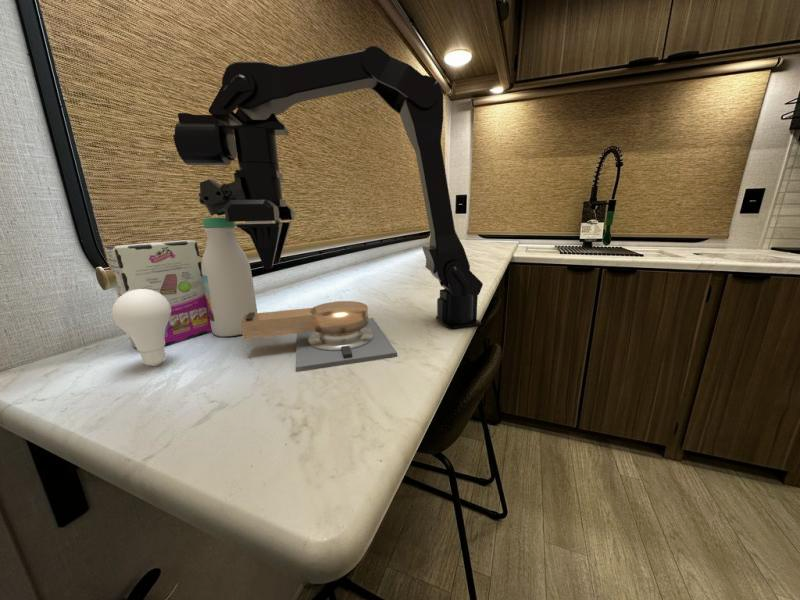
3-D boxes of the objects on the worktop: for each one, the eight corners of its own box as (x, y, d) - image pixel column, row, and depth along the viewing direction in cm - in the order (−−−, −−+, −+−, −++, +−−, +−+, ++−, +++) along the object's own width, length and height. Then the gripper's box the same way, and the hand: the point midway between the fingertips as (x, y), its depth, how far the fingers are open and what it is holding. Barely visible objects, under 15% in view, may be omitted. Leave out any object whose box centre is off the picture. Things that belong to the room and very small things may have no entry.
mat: (372, 320, 61) (372, 314, 61) (397, 356, 45) (397, 348, 45) (297, 329, 57) (297, 323, 57) (296, 371, 41) (295, 363, 41)
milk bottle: (267, 323, 61) (252, 217, 56) (244, 338, 53) (225, 216, 48) (229, 323, 62) (212, 218, 57) (202, 337, 54) (179, 218, 49)
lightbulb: (117, 372, 42) (95, 293, 40) (163, 353, 48) (147, 283, 45) (147, 379, 40) (126, 296, 38) (192, 359, 46) (176, 285, 43)
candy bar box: (201, 326, 60) (184, 239, 56) (215, 331, 57) (198, 240, 53) (129, 347, 51) (102, 245, 47) (142, 353, 48) (114, 246, 44)
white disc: (366, 324, 57) (366, 313, 57) (379, 345, 48) (379, 333, 47) (307, 331, 55) (306, 320, 54) (309, 355, 45) (307, 342, 44)
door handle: (363, 313, 56) (362, 297, 55) (373, 329, 48) (372, 311, 47) (250, 325, 51) (247, 308, 50) (240, 346, 42) (236, 326, 42)
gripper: (224, 173, 56) (238, 260, 60) (169, 152, 38) (193, 279, 42) (290, 173, 58) (298, 258, 62) (265, 153, 40) (280, 274, 44)
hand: (272, 266), depth 52 cm, fingers open, 5 cm apart
